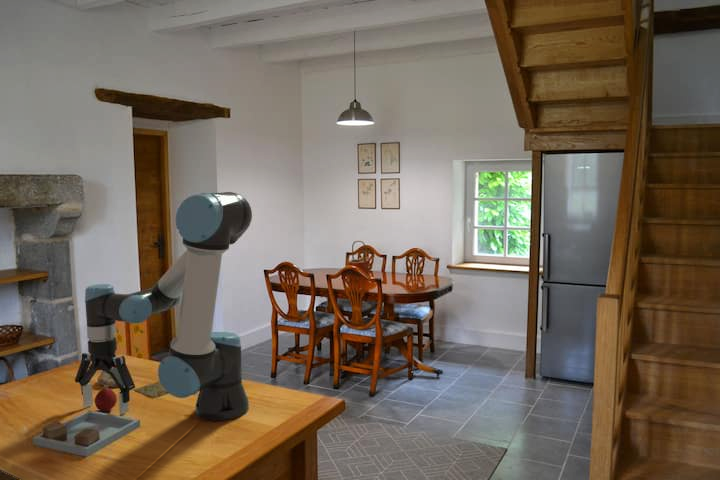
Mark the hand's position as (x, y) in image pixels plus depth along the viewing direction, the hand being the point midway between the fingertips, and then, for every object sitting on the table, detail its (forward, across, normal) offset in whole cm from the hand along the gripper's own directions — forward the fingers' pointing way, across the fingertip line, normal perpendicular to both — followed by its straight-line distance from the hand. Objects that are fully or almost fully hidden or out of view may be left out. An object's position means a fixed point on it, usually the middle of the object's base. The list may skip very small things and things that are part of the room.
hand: (106, 409), depth 166 cm
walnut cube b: (0, -3, +20) cm, 20 cm away
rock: (+1, +16, -19) cm, 25 cm away
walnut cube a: (0, -14, +20) cm, 24 cm away
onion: (+1, 0, 0) cm, 1 cm away
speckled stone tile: (+2, -2, -20) cm, 21 cm away
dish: (+1, -8, +14) cm, 16 cm away
